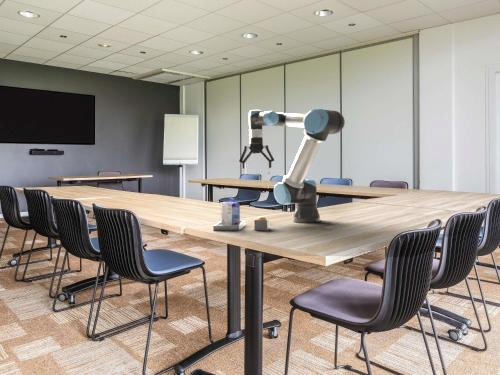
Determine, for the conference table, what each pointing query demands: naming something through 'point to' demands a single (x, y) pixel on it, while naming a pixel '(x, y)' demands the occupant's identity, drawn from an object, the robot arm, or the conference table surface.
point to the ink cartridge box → (230, 213)
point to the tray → (229, 226)
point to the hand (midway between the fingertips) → (257, 174)
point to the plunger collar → (261, 224)
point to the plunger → (261, 218)
